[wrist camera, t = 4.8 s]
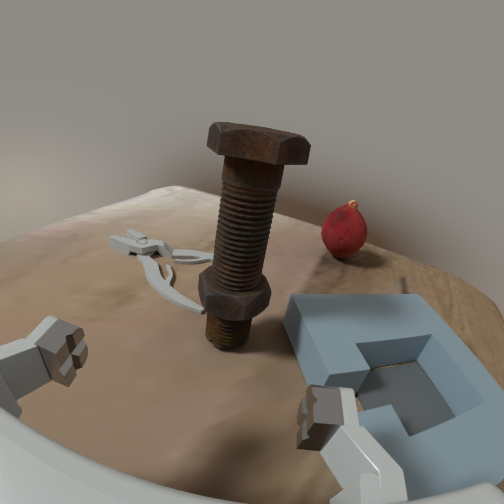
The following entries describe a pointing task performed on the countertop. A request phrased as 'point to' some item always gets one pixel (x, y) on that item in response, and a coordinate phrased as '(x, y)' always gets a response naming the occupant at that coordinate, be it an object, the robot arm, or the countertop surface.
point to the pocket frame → (405, 384)
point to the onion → (344, 230)
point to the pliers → (145, 251)
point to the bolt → (244, 225)
